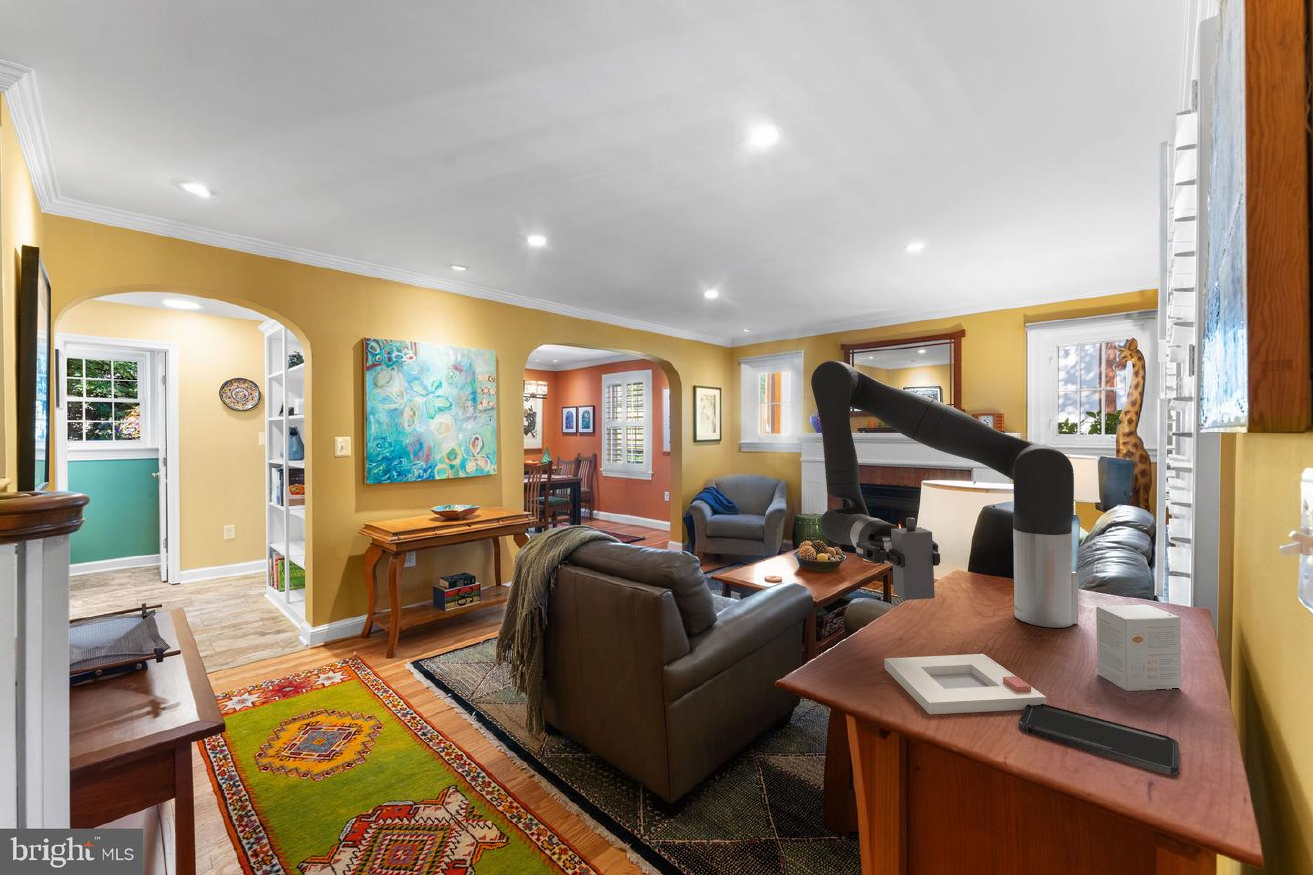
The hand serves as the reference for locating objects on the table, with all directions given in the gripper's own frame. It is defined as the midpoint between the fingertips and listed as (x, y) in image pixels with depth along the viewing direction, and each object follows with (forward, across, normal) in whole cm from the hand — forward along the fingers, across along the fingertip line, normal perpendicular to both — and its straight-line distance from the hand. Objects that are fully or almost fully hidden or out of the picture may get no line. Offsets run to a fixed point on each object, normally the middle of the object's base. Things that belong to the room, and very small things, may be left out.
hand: (920, 560), depth 92 cm
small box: (+10, +26, +17) cm, 33 cm away
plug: (-3, 0, +6) cm, 7 cm away
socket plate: (+9, 0, +16) cm, 19 cm away
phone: (+23, +10, +17) cm, 30 cm away
